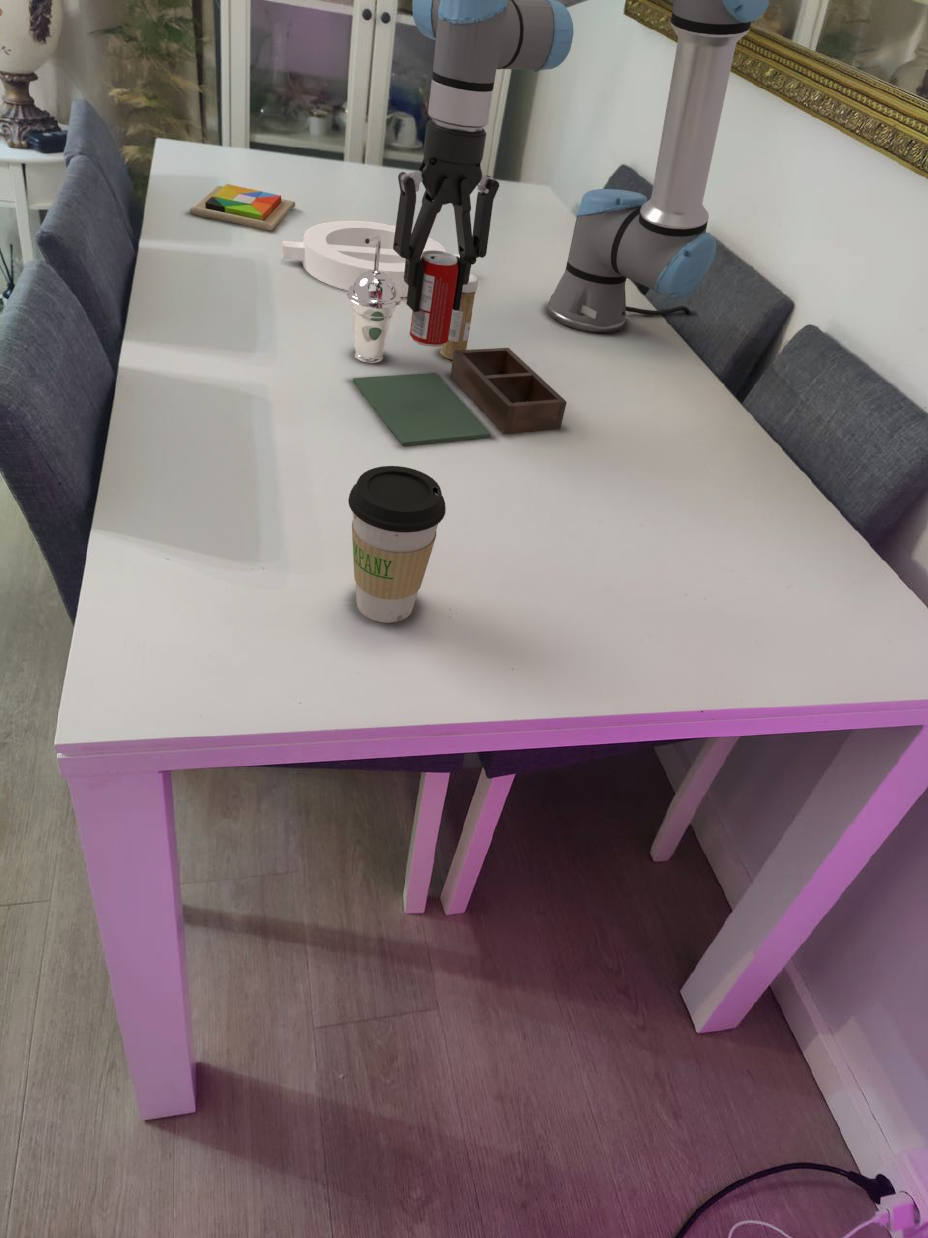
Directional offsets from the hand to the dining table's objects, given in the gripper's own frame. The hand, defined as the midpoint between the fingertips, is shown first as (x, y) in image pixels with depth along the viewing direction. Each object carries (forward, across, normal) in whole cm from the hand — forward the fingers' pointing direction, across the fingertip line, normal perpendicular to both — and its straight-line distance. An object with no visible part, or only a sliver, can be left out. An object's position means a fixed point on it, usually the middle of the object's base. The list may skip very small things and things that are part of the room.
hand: (432, 306), depth 126 cm
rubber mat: (+16, 0, 0) cm, 16 cm away
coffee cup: (+16, +22, +42) cm, 50 cm away
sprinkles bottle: (+16, -14, -17) cm, 27 cm away
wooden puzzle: (+16, +2, -89) cm, 90 cm away
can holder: (+16, -15, 0) cm, 21 cm away
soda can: (+5, 0, 0) cm, 5 cm away
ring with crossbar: (+16, -15, -56) cm, 60 cm away
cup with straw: (+16, +1, -18) cm, 24 cm away
